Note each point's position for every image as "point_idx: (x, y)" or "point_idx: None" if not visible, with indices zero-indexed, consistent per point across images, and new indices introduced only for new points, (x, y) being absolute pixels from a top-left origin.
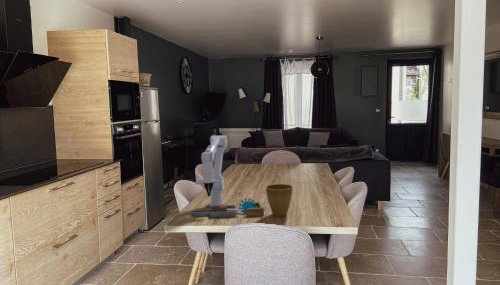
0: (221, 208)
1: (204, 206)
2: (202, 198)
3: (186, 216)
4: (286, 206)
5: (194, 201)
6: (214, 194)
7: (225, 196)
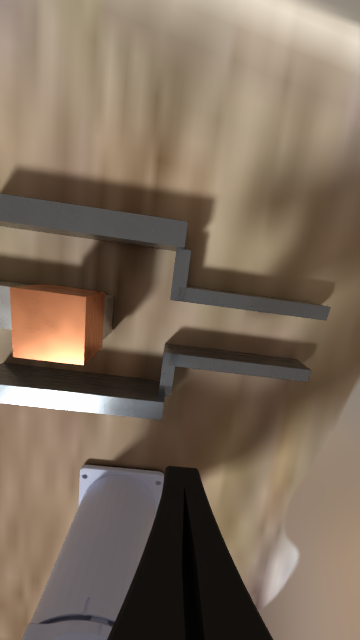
0: (82, 292)
1: None
2: None
3: (340, 320)
4: None
5: None
6: (108, 585)
7: None
